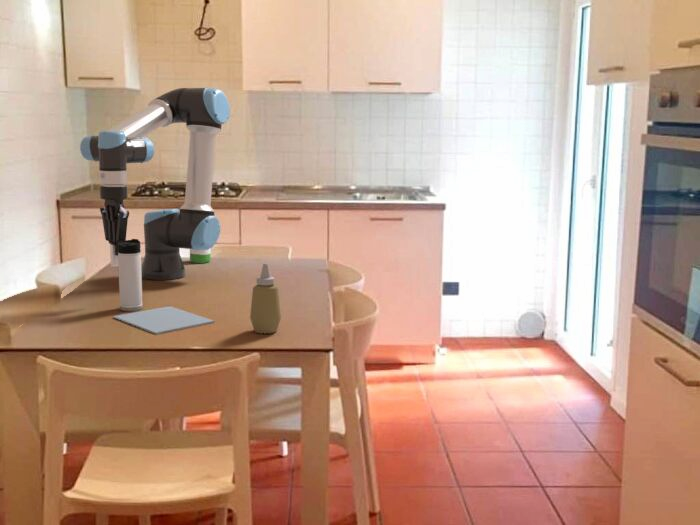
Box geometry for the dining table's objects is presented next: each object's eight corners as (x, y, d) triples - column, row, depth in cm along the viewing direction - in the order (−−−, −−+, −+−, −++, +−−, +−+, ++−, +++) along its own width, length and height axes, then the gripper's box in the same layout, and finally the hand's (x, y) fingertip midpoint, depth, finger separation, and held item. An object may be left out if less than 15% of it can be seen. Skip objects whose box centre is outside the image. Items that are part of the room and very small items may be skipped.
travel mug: (147, 307, 231) (145, 239, 227) (134, 312, 225) (132, 242, 221) (129, 305, 233) (126, 238, 229) (115, 310, 227) (112, 241, 223)
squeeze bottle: (250, 327, 211) (250, 261, 208) (281, 327, 212) (281, 261, 209) (249, 335, 204) (249, 266, 200) (281, 335, 204) (281, 266, 201)
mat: (113, 318, 218) (113, 316, 218) (170, 307, 231) (170, 306, 231) (156, 334, 203) (156, 332, 203) (214, 322, 215) (214, 320, 215)
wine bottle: (193, 259, 307) (192, 182, 301) (213, 260, 306) (212, 182, 300) (187, 263, 299) (185, 183, 294) (207, 264, 298) (205, 184, 293)
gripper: (90, 184, 230) (93, 264, 234) (112, 187, 221) (115, 270, 225) (114, 183, 235) (116, 261, 239) (136, 186, 226) (139, 267, 230)
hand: (116, 265), depth 232 cm, fingers closed
